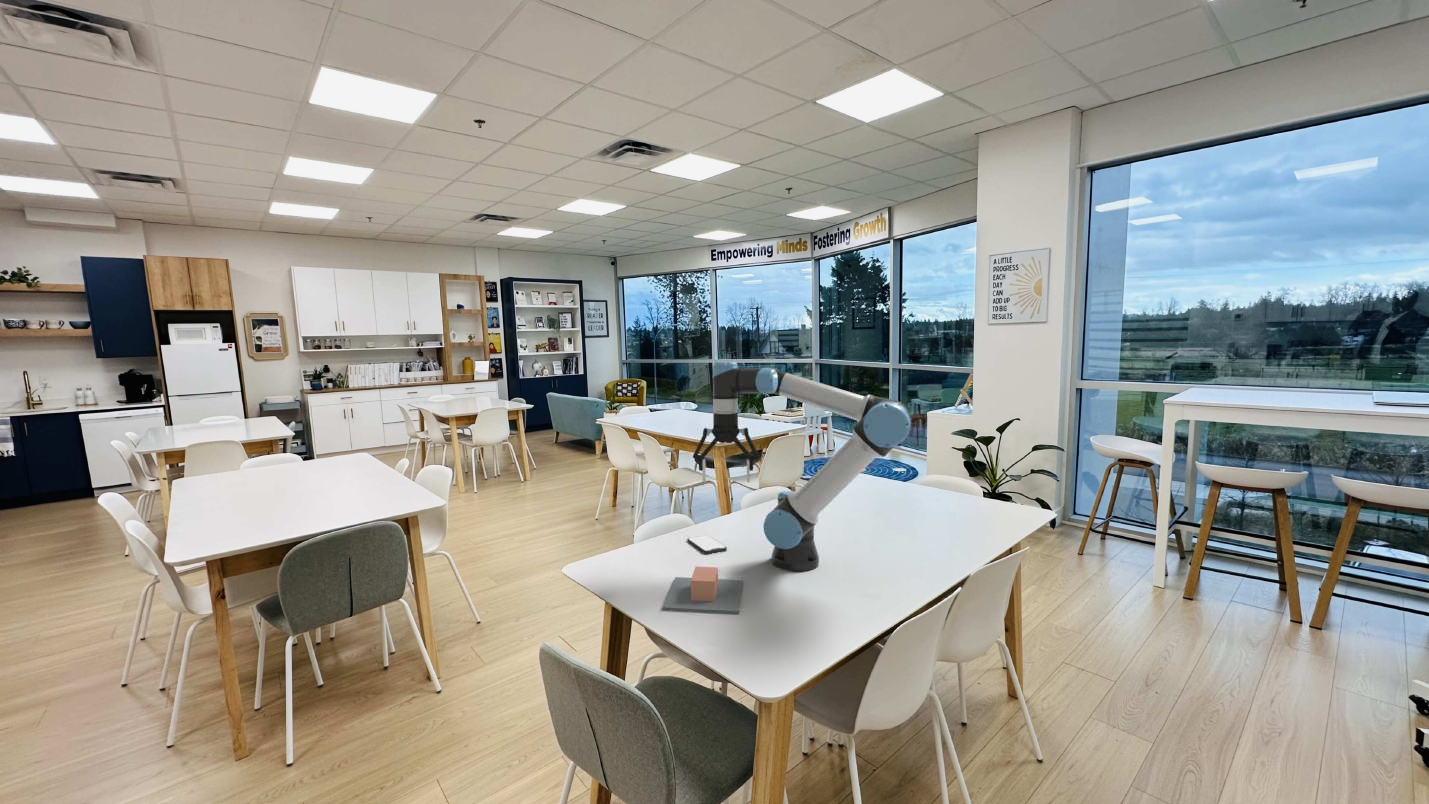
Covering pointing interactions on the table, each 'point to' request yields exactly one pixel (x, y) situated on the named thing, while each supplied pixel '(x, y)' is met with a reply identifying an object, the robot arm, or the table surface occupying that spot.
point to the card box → (704, 584)
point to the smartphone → (707, 544)
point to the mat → (723, 603)
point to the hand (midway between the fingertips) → (726, 481)
